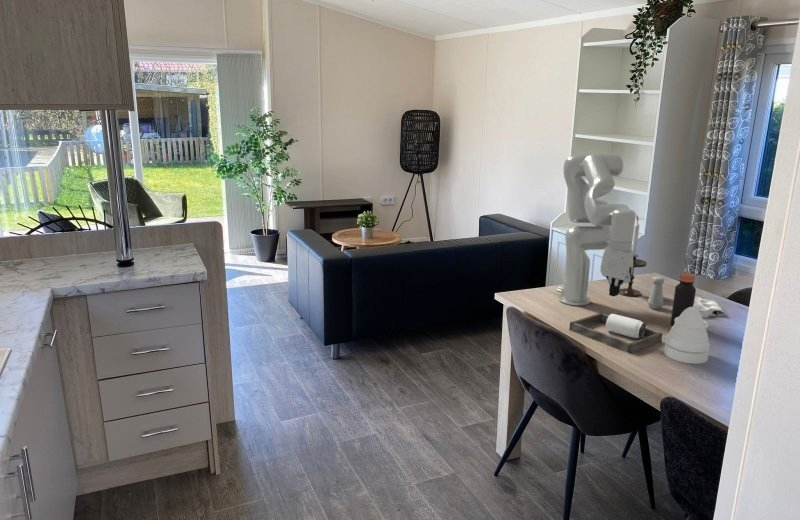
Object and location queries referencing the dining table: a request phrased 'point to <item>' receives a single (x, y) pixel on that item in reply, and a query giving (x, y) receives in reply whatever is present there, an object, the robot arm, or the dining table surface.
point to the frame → (579, 327)
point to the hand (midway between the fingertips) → (613, 295)
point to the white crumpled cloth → (708, 307)
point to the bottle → (683, 295)
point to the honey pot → (688, 337)
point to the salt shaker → (656, 294)
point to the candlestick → (636, 263)
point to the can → (625, 326)
